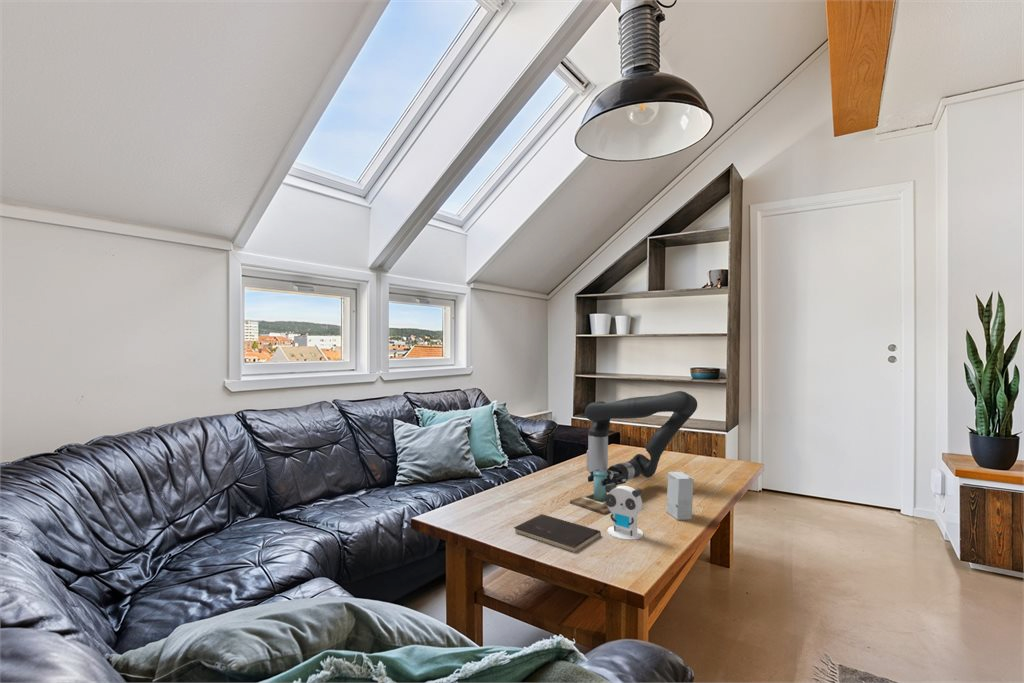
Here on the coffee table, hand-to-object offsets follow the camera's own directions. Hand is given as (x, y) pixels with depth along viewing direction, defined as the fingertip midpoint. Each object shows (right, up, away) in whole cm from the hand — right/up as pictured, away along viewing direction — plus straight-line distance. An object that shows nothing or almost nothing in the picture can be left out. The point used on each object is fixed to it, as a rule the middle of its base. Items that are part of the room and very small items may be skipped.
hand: (595, 481), depth 180 cm
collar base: (+2, -9, +2) cm, 10 cm away
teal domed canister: (+2, -8, +2) cm, 8 cm away
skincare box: (+28, -9, -11) cm, 32 cm away
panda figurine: (+5, -9, -25) cm, 28 cm away
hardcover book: (-17, -10, -27) cm, 33 cm away
